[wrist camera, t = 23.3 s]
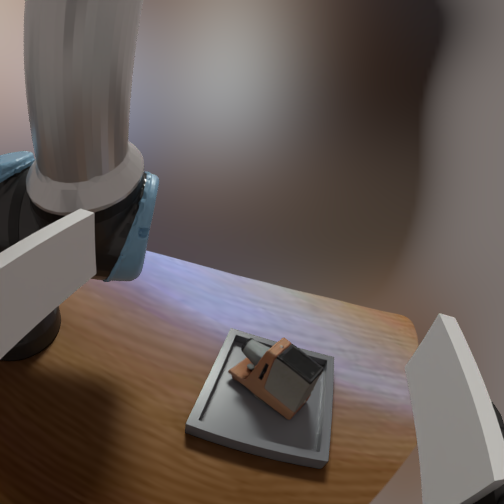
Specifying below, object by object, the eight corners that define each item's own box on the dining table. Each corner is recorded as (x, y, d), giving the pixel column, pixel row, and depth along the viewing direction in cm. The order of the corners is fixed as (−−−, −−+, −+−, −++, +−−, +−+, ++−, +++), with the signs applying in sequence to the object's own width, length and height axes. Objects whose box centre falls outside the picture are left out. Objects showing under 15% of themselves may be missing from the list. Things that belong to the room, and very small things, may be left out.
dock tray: (185, 432, 28) (185, 423, 27) (228, 338, 43) (230, 328, 42) (321, 468, 26) (328, 461, 25) (329, 366, 41) (334, 357, 41)
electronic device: (248, 360, 39) (260, 316, 36) (308, 401, 34) (331, 360, 31) (225, 377, 35) (236, 332, 32) (289, 422, 31) (312, 383, 28)
